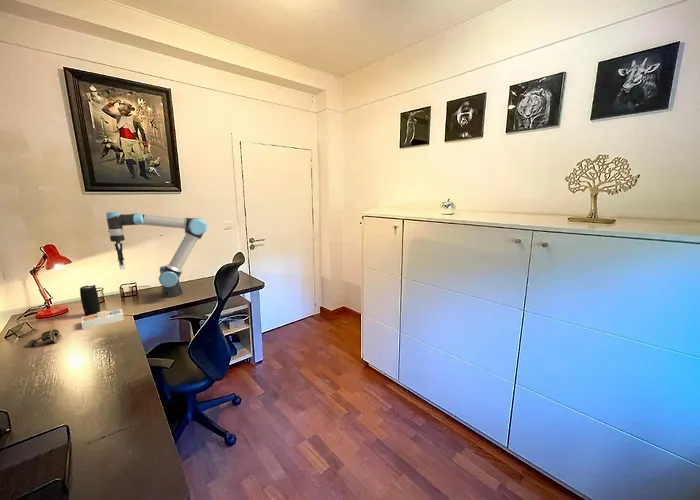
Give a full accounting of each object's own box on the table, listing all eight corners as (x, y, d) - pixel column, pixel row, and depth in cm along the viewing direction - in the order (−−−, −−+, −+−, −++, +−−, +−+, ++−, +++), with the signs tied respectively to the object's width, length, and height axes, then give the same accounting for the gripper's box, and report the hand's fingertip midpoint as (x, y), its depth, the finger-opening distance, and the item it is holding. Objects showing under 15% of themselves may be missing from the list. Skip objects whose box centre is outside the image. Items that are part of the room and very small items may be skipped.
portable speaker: (89, 318, 187) (84, 289, 183) (81, 316, 190) (75, 287, 187) (104, 313, 194) (99, 285, 191) (96, 311, 198) (90, 284, 194)
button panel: (122, 314, 191) (121, 308, 190) (123, 319, 182) (122, 313, 181) (83, 323, 179) (81, 316, 178) (82, 329, 170) (81, 322, 169)
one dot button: (119, 314, 187) (119, 309, 186) (120, 315, 183) (119, 311, 183) (111, 315, 184) (110, 311, 183) (111, 317, 181) (110, 313, 180)
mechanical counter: (45, 338, 147) (63, 326, 156) (19, 336, 147) (39, 324, 157) (49, 350, 150) (68, 337, 159) (25, 348, 150) (44, 335, 159)
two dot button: (107, 314, 183) (106, 310, 182) (107, 316, 179) (106, 312, 179) (98, 316, 180) (97, 312, 179) (98, 318, 177) (97, 314, 176)
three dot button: (95, 319, 179) (94, 314, 179) (95, 321, 176) (94, 316, 175) (85, 321, 176) (84, 316, 176) (85, 323, 173) (84, 318, 172)
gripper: (109, 234, 200) (115, 269, 204) (110, 236, 190) (116, 272, 194) (123, 233, 204) (128, 267, 208) (124, 235, 195) (130, 270, 199)
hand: (122, 269), depth 201 cm, fingers closed
